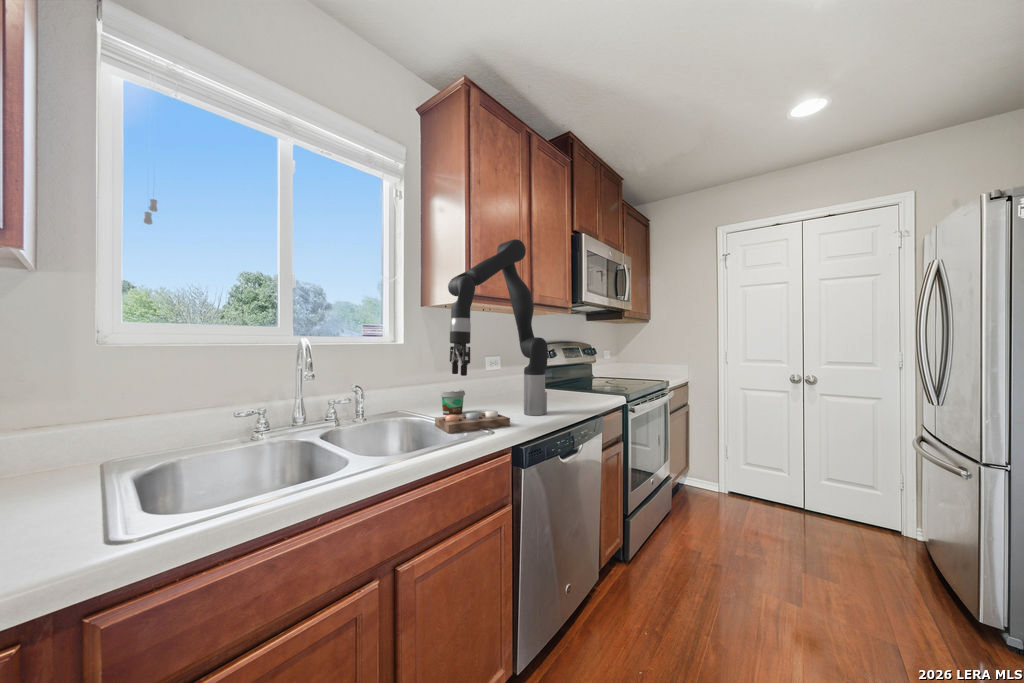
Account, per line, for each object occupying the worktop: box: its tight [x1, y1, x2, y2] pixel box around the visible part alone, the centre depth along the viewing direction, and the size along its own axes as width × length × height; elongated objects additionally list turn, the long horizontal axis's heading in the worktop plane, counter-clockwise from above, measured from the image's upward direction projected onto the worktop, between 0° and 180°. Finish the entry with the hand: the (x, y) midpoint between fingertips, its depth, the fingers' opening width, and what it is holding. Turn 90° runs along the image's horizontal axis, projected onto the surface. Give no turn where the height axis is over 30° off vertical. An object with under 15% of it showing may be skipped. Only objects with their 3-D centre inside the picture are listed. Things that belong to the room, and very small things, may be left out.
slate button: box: [465, 412, 480, 420], centre depth 142 cm, size 5×5×3 cm
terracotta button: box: [444, 414, 460, 422], centre depth 138 cm, size 5×5×3 cm
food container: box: [440, 388, 466, 416], centre depth 165 cm, size 12×6×10 cm, turn 143°
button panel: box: [434, 412, 511, 434], centre depth 142 cm, size 24×14×3 cm, turn 120°
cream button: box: [484, 410, 499, 418], centre depth 146 cm, size 5×5×3 cm
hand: (459, 374), depth 140 cm, fingers open, 8 cm apart
